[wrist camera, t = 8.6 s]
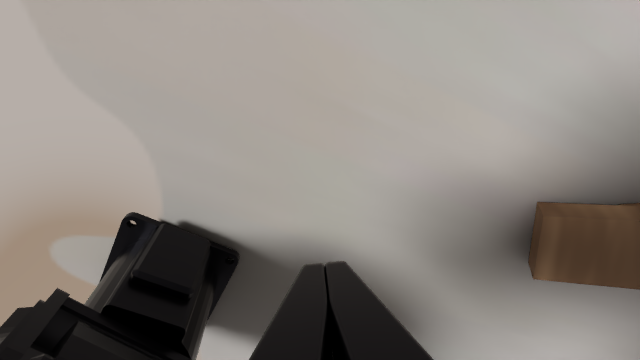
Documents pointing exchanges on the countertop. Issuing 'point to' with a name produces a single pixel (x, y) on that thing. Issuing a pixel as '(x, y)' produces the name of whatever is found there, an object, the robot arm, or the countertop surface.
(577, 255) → the domino
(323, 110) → the countertop surface
